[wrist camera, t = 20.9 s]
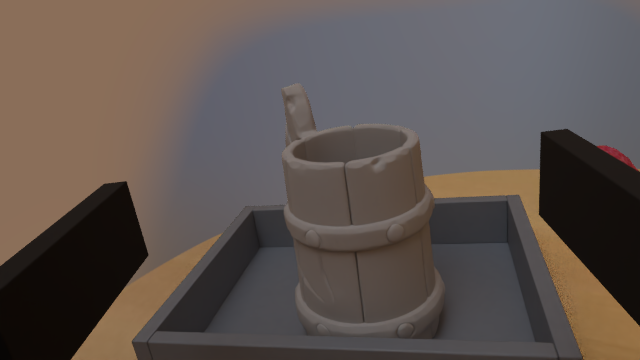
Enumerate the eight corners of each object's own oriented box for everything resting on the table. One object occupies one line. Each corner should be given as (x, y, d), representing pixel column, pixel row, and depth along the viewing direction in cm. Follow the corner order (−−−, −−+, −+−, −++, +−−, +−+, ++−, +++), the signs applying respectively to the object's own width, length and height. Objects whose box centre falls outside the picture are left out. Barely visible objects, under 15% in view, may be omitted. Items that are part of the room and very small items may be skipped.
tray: (153, 405, 23) (131, 341, 22) (255, 251, 36) (245, 206, 35) (578, 436, 18) (583, 357, 17) (519, 247, 32) (519, 194, 30)
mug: (344, 398, 21) (300, 131, 17) (255, 279, 31) (215, 96, 27) (479, 329, 24) (470, 86, 20) (357, 241, 34) (334, 69, 30)
